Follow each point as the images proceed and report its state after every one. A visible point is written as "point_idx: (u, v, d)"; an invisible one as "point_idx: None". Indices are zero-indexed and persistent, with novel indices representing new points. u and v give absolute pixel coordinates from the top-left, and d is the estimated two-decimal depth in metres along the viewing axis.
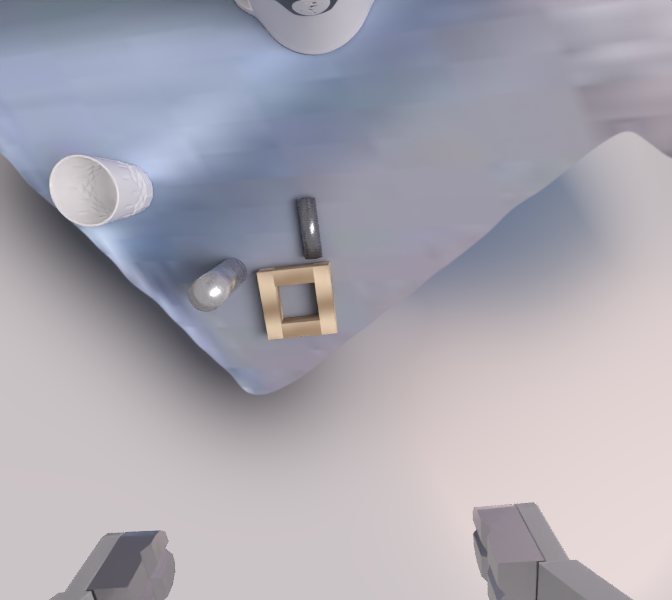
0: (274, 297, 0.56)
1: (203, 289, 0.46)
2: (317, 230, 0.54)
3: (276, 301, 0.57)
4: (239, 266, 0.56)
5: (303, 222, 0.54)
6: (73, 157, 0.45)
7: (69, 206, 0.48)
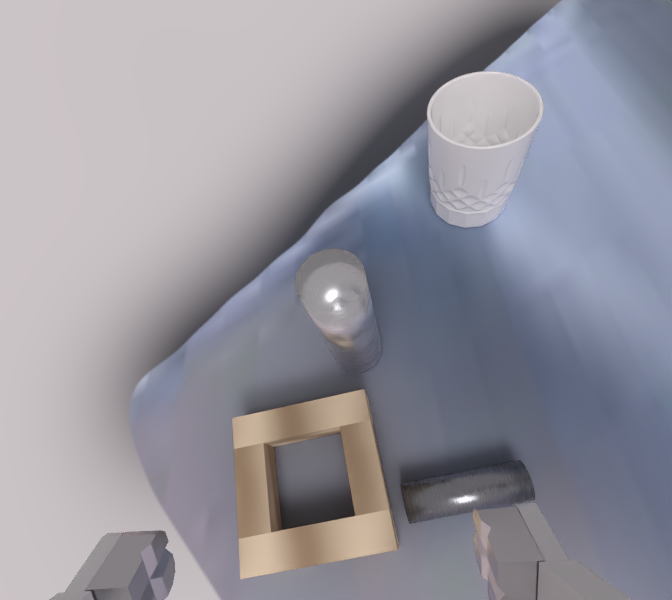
0: (318, 427, 0.28)
1: (341, 275, 0.22)
2: (465, 506, 0.25)
3: (309, 431, 0.28)
4: (371, 357, 0.30)
5: (476, 473, 0.26)
6: (533, 94, 0.29)
7: (448, 103, 0.32)
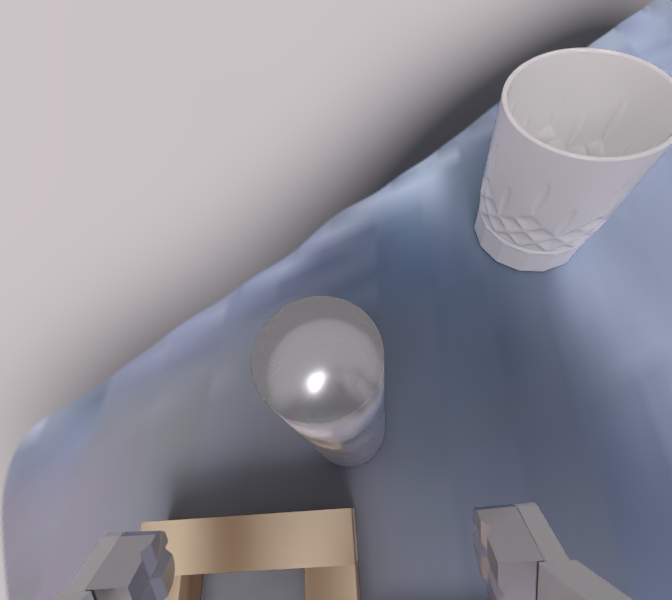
0: (270, 563, 0.18)
1: (339, 352, 0.12)
2: None
3: (255, 567, 0.18)
4: (368, 454, 0.20)
5: None
6: (670, 89, 0.19)
7: (529, 90, 0.22)
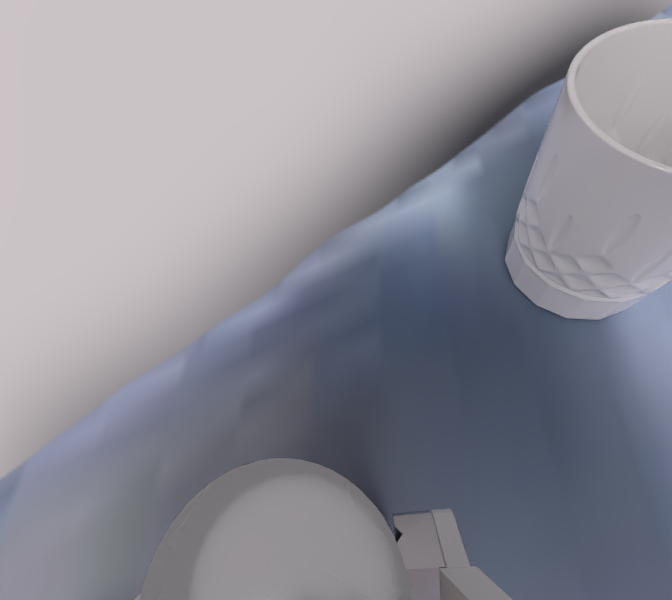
0: None
1: None
2: None
3: None
4: None
5: None
6: None
7: (594, 79, 0.16)
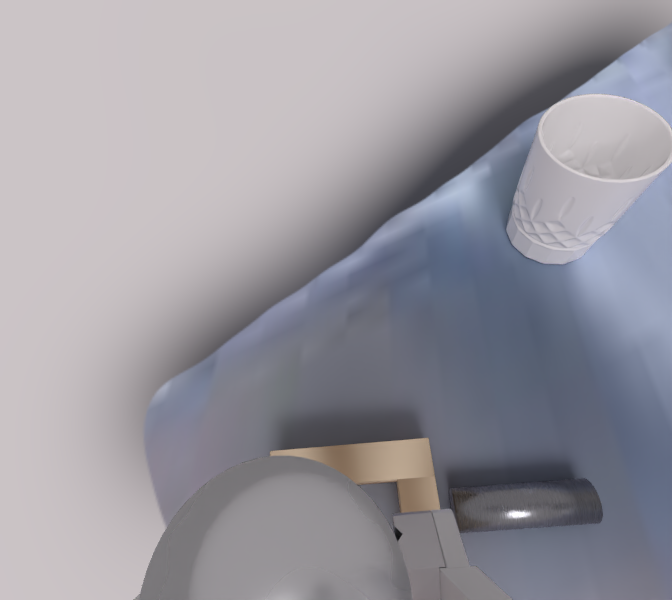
0: (371, 476, 0.24)
1: (319, 599, 0.06)
2: None
3: (361, 480, 0.24)
4: None
5: None
6: (663, 127, 0.25)
7: (555, 124, 0.28)
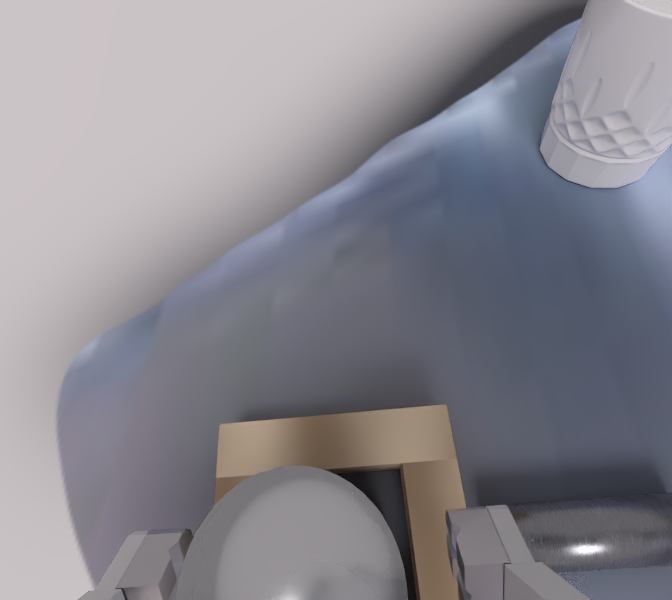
0: (364, 459, 0.17)
1: (329, 587, 0.07)
2: (575, 500, 0.16)
3: (348, 464, 0.17)
4: None
5: None
6: None
7: None
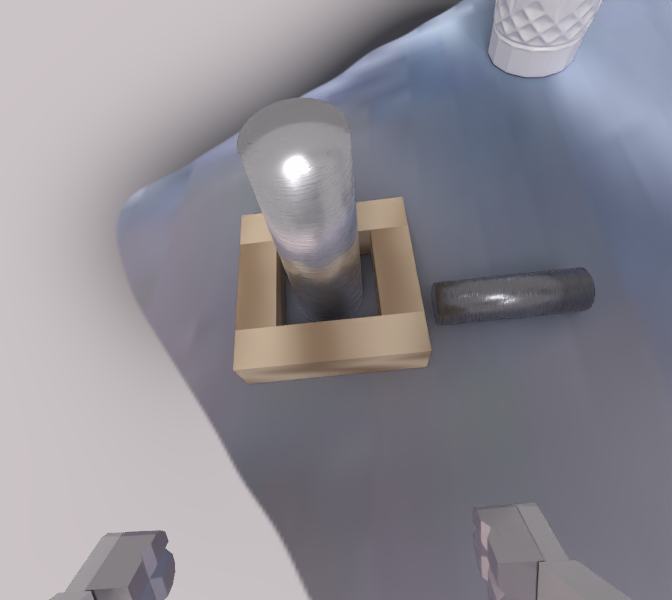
0: None
1: (312, 132, 0.14)
2: (507, 284, 0.21)
3: None
4: (347, 303, 0.22)
5: None
6: None
7: None
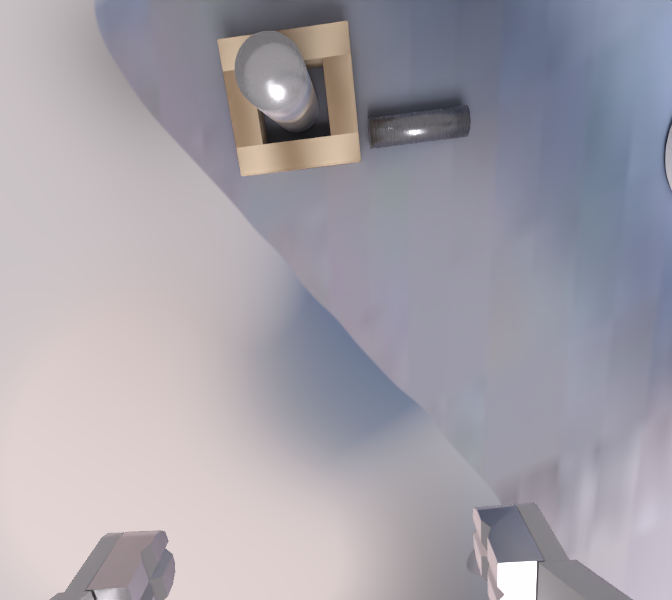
0: (302, 56, 0.31)
1: (281, 69, 0.23)
2: (415, 139, 0.33)
3: None
4: (307, 123, 0.33)
5: (431, 114, 0.32)
6: None
7: None
